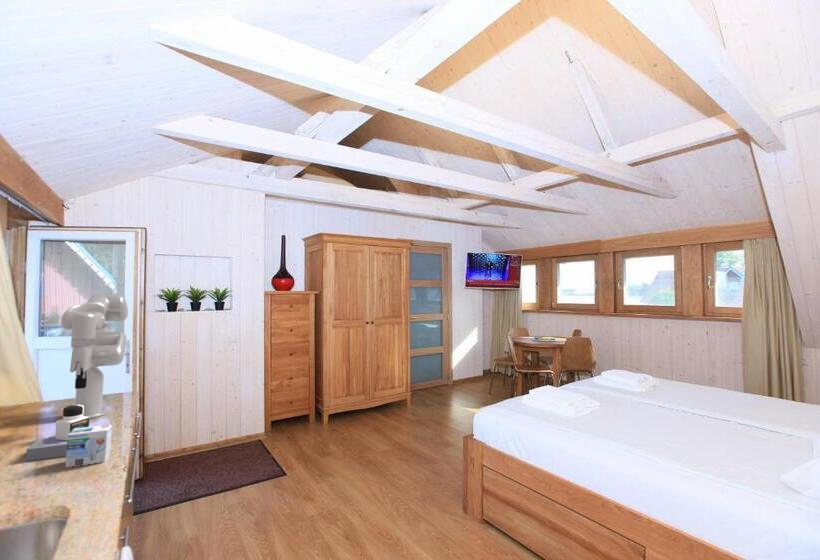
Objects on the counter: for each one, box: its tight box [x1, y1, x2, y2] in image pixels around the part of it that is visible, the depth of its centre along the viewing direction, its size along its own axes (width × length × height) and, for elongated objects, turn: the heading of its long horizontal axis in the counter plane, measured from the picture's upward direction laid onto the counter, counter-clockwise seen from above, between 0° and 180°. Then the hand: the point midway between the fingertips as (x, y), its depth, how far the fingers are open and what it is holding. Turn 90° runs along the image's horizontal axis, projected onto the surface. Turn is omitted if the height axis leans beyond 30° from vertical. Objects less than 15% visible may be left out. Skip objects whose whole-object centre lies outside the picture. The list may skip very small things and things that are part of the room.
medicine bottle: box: [54, 404, 90, 442], centre depth 149 cm, size 7×7×12 cm
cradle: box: [25, 438, 67, 463], centre depth 135 cm, size 10×14×4 cm
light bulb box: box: [64, 423, 113, 468], centre depth 129 cm, size 11×7×11 cm, turn 117°
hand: (80, 387), depth 157 cm, fingers closed
